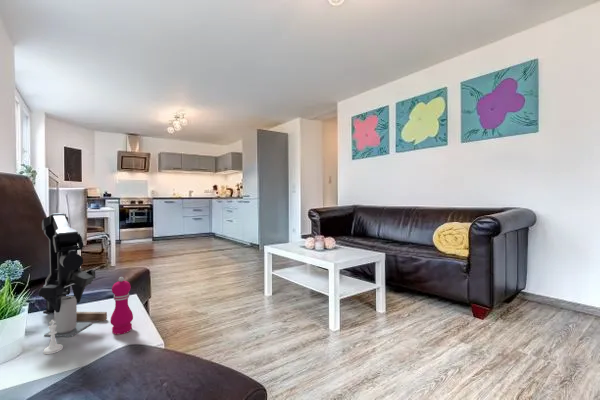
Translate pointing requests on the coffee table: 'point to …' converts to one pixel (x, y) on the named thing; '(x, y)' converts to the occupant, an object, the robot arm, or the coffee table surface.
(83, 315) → the low wall
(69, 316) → the beverage can
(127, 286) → the pepper mill
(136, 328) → the coffee table surface
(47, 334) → the slate mat
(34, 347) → the coffee table surface
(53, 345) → the chess piece
